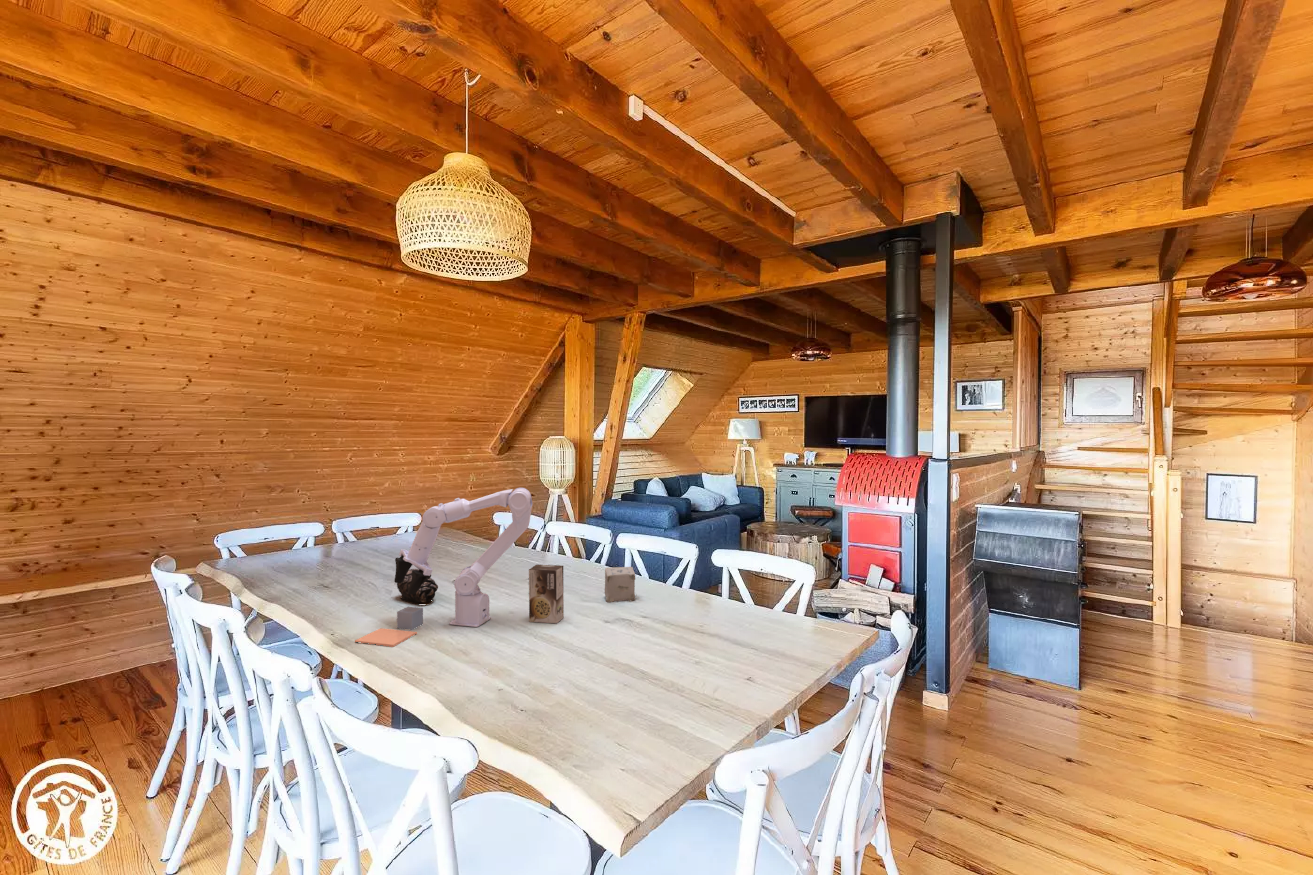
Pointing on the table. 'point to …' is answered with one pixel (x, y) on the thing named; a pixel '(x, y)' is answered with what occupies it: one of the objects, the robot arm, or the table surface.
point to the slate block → (409, 618)
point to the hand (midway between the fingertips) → (404, 588)
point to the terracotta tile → (386, 637)
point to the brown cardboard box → (619, 584)
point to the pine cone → (423, 593)
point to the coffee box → (546, 593)
